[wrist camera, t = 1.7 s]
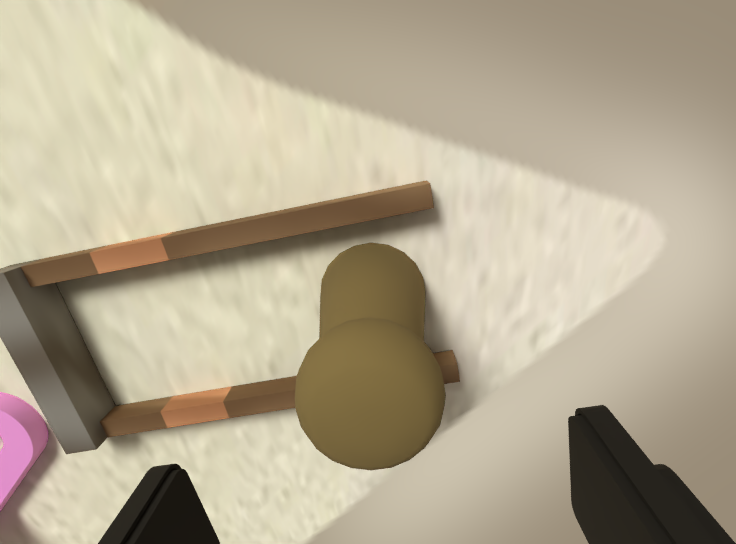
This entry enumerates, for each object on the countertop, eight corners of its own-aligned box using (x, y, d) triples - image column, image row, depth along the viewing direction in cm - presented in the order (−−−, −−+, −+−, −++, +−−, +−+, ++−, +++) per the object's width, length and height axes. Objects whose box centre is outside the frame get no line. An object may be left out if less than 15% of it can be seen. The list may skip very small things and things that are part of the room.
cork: (445, 302, 22) (505, 442, 12) (363, 358, 24) (353, 527, 13) (382, 220, 21) (388, 299, 11) (298, 284, 22) (230, 410, 12)
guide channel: (455, 366, 24) (463, 392, 21) (94, 425, 26) (66, 454, 23) (426, 180, 20) (432, 185, 18) (11, 265, 22) (-32, 279, 20)
